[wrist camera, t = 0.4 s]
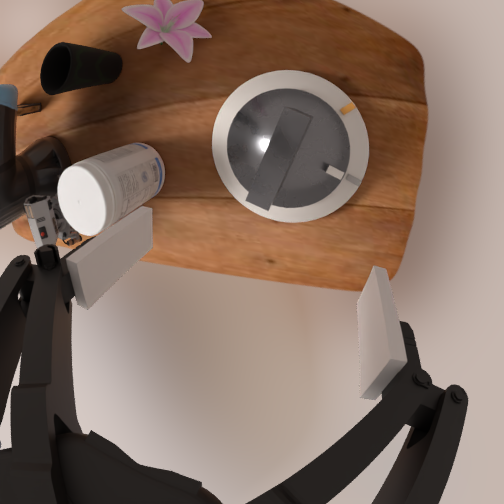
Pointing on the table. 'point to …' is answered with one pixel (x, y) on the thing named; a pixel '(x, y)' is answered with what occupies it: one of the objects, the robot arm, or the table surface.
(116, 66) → the cup
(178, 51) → the lily
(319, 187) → the dial
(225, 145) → the dial base
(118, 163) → the supplement tub
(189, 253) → the table surface
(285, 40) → the table surface
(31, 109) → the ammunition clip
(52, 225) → the figurine
